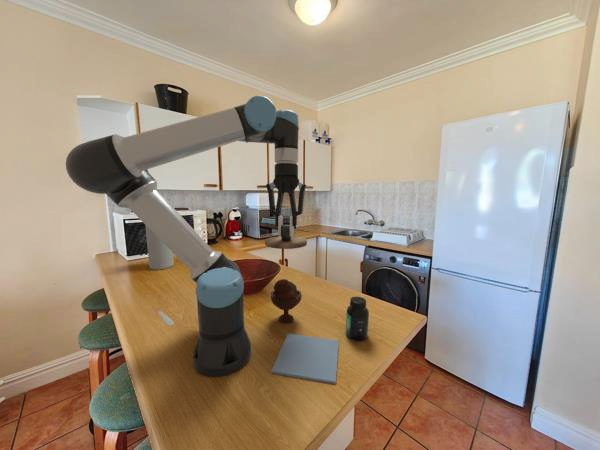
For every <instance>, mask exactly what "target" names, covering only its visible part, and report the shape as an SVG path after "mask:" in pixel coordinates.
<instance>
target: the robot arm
mask: <svg viewBox="0 0 600 450" xmlns="http://www.w3.org/2000/svg"><path fill="white" fill-rule="evenodd" d="M299 130H300V127H299V115H298V113H297V112H295V111H294V110H289V109H283V110H282V109H281V110H280V109H279V110H277V108H276V106H275V103H273V101H272V100H271V99H270V98H268V97H267V96H264V95H258V94H257V95H254V96H252V97H251V98H250V99H249V100H247V102H245V103H244V104H240V105H237V106H235V107H231V108H227V109H223V110H219V111H216V112H213V113H212V112H211V113H208V114H206V115H202V116H198V117H194V118H190V119H187V120H186V119H185V120H184V121H179V122H176V123H172V124H169V125H164V126H161V127H157V128H154V129H150V130H146V131H143V132H139V133H135V134H132V135H129V136H122V135H120V134H117V133H116V134H112V135H108V136H104V137H101V138H97V139H93V140H89V141H85V142H83V143H80V144H78V145H77V146H75V147H74V148H72V149H71V150H70V152H68V154H67V157H66V159H65V169H66V173H67V174H68V177H69V178H70V179H71V180H72V182H73V183H74V184H75V185H76V186H78V187H79V188H81V189H83V190H84V191H87V192H90V193H94V194H100V195H102V194H103V195H106V196H107V197H108V198H110V200H111V201H112V202H113V203H114V204H116V206H118V208H123V209H124V208H125V209H129V210H131V212H132V213H133V214H134V215H135V216H137V218H138V219H139V220H140V221H141V222H142V223H143V224H144V225H145V227H146V226H147V227H148V228H149V229H150V230H151V231H152V232H153V233H154V234H155V235H156V236H157V237H158V238H159V239H160V240H161V241H162V242H163V243H164V244H165V245H166V246H167V247H168V248H169V249H170V250H171V251H172V252H173V255H174V254H175V256H176V257H177V258H178V259H179V260H180V261H181V262H182V263H183V264H184V265H185V266H186V267H187V268H188V269H189V270H190V279H192V281H193V282H194V283H195V284H196V287H195V295H196V301H197V302H196V303H197V319H198V320H197V321H198V332H199V333H198V336H197V337H198V338H197V340H196V344H195V347H194V350H193V356H192V357H193V367H194V369H195V371H197V372H198V373H199V374H200V375H203V376H206V377H216V378H217V377H223V376H227V375H229V374H232V373H235V372H237V371H238V370H240V369H242V368H243V367H244V366H245V365H247V363H248V361H249V360H250V358H251V356H252V343H251V340H250V337H249V335H248V333H247V332H248V331H247V330H246V328H245V314H244V313H245V310H244V306H245V305H244V304H245V303H244V288H245V284H244V279H243V276H242V272H241V270H240V267H239V266H238V264H237V263H236V262H235V261H233V260H231V259H229V258H228V257H227V256H225V254H224V253H223V252H222V251H220V250H219V251H218V250H214V249H212V247H211V246H210V245H208V242H206V241H205V240H204V239H203V238H202V236H200V235H199V233H197V231H196V230H195V229H194V228H193V227H192V226H191V225H190V224H189V223H188V222H187V220H186V219H184V217H183V216H182V215H181V214H180V213H179V212H178V211H177V210H176V208H174V206H173V205H172V204H171V203H170V202H169V201H168V200H167V199H166V198H165V197H164V196H163V195H162V194H161V193H160V191H158V181H157V180H156V179H155V178H154V177H153V176H152V175H151V174H150V173H149V170H150V169H152V168H156V167H159V166H162V165H165V164H169V163H172V162H174V161H178V160H181V159H182V160H183V159H185V158H188V157H191V156H194V155H197V154H200V153H203V152H206V151H210V150H213V149H216V148H217V149H218V148H219V147H220V148H221V147H223V146H226V145H229V144H233V143H236V142H244V143H247V144H248V143H262V144H270V145H271V144H273V145H274V163H275V165H274V179H273V181H272V182H270V183H266V184H265V187H266V190H267V193H268V195H267V196H268V205H269V207H268V208H269V214H270V215H274V216H275V226H278V227H277V229H278V230H277V232H278V233H277V235H278V236H281V225H284V224H283V223H284V219H283V218H284V215H282V208H283V201H284V196H285V194H286V193H287V194H288V197H289V204H290V209H291V216H289V225H290V237H292V236H294V234H295V232H294V231H295V227H297V225H298V216H300V215H302V214H303V210H304V200H305V192H306V189H307V186H308V184H304V183H302V182H301V181H300V180H299V165H298V164H297V163H299ZM275 187H276V190H278V191H277V200H276V201H275V192H274V191H275V190H274V189H275ZM297 188H298V190H299V192H298V193H299V194H298V205H297V203H296V198H295V197H296V196H295V190H296V189H297ZM278 236H277V237H278Z"/></svg>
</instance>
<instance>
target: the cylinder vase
mask: <svg viewBox="0 0 600 450" xmlns="http://www.w3.org/2000/svg"><path fill="white" fill-rule="evenodd" d="M145 234H146V235H145V236H146V244H147V245H146V246H147V247H146V248H147V255H148V267H149V269H150V270H155V271H157V270H166V269H170V268H171V267H173V266H174V265H175V261H174V253H173V252H172V251H171V250H170V249H169V248H168V247H167V246H166V245H165V244H164V243H163V242H162V241H161V240H160V239H159V238H158V237H157V236H156V235H155V234H154V233H153V232H152V231H151V230H150V229H149V228H148V227H147V226H146V225H145Z"/></svg>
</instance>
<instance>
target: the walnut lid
mask: <svg viewBox="0 0 600 450" xmlns="http://www.w3.org/2000/svg"><path fill="white" fill-rule="evenodd" d="M264 245H265V246H266V247H268V248H273V249H278V250H279V249H280V250H281V249H283V250H293V249H300V248H304V247H306V246H307V245H308V240H307V239H306V238H304V237H300V236H294V235H293V236H292V237H290V224H283V225H281V236H271V237H267V238H266V239H264Z"/></svg>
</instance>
